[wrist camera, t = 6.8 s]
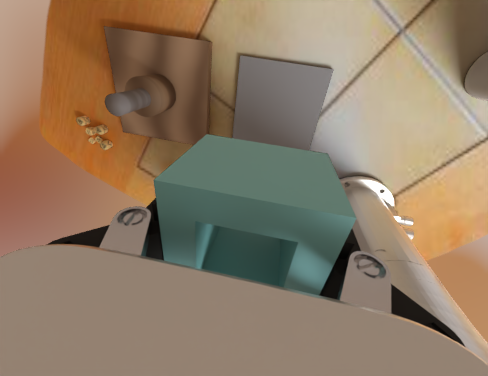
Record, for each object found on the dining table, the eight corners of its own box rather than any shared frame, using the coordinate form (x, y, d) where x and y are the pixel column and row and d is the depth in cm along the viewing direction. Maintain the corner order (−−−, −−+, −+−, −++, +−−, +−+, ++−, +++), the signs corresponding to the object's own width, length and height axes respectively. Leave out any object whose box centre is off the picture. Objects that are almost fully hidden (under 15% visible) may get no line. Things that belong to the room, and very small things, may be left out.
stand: (212, 42, 28) (175, 33, 18) (208, 143, 35) (180, 175, 26) (111, 27, 29) (26, 12, 19) (128, 129, 36) (73, 154, 27)
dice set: (84, 113, 37) (75, 116, 35) (112, 121, 37) (104, 124, 35) (89, 140, 39) (81, 144, 38) (115, 148, 39) (108, 151, 38)
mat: (332, 69, 27) (333, 69, 27) (306, 155, 34) (306, 156, 33) (241, 55, 28) (240, 55, 28) (232, 142, 34) (231, 143, 34)
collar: (327, 153, 10) (356, 218, 6) (297, 243, 13) (302, 328, 9) (206, 134, 11) (153, 180, 6) (205, 224, 14) (168, 295, 10)
